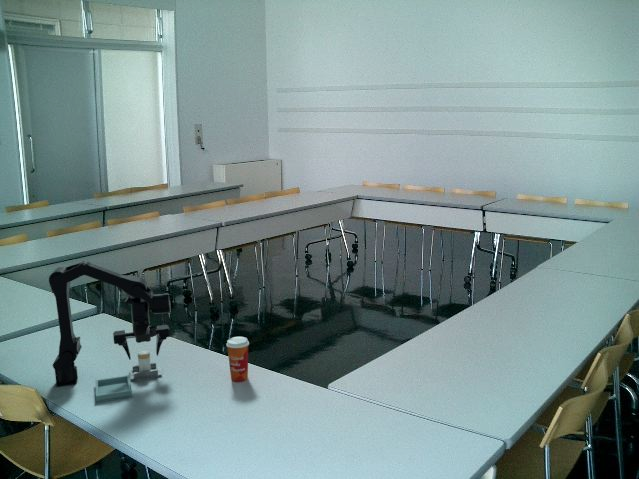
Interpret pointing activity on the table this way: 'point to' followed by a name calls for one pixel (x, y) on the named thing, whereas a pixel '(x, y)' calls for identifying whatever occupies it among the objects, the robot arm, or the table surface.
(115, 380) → the tray
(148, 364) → the cylinder
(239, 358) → the paper cup
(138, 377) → the clip rails
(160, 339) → the robot arm
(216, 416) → the table surface
